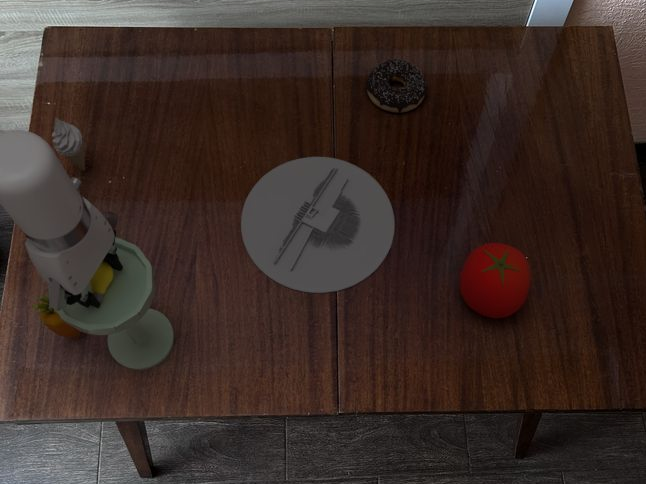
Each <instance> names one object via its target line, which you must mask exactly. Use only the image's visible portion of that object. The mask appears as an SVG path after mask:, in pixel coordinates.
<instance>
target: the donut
mask: <svg viewBox="0 0 646 484" xmlns="http://www.w3.org/2000/svg"><path fill="white" fill-rule="evenodd" d="M391 82H398V83H401V84H402V85H403V87H398V88H397V87H393V86H392V85H391V84H390V83H391ZM364 90H365V91H366V93H367V95H368V97H369V99H370V101H371V103H373V104H374V105H375V106H376V107H378V108H380V109H381V110H384V111H387V112H390V113H397V114H401V113H407V112H410V111H412V110H414V109H416V108H417V107H418V106H419V105H421V103H422V102H423V100H424V99H425V97H427V94H428V84H427V80H426V78H425V75H424V74H423V73H422V71H421V70H420V69H419V68H418V67H417V66H416V65H414V64H412V63H410V62H408V61H406V60H403V59H399V58H390V59H388V60H385V61H383V62H381V63H379V64H378V65H376V66H375V67H373V69H372V71H371V72H370V73H369V74H368V77H367V79H366V83H365V89H364Z"/></svg>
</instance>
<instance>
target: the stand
mask: <svg viewBox="0 0 646 484" xmlns="http://www.w3.org/2000/svg"><path fill="white" fill-rule="evenodd" d="M174 343H175V331H174V328H173V324H172V323H171V322H170V320H169V319H168V317H167V316H166V315H165V314H163V313H162V312H161V311H160V310H159V311H158V310H157V309H154V308H149V309H148V311H147V312H146V314H145V315H144V316H143V317H142V318H141V319H140V320H139V321H138V322H137V323H135V324H134V325H132V326H131V327H129V328H127V329H125V330H123V331H120V332H117V333H114V334H108V335H107V348H108V352H109V353H110V355H111V356H112V358H113V360H115V362H117V363H118V364H119V365H120V366H122V367H124V368H126V369H129V370H133V371H144V370H145V371H146V370H149V369H152V368H155V367H156V366H158V365H160V364H161V363H163V362H164V361H165V360H166V359H167V358H168V357H169V355H170V353H171V352H172V350H173V347H174V345H175V344H174Z"/></svg>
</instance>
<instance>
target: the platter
mask: <svg viewBox="0 0 646 484" xmlns="http://www.w3.org/2000/svg"><path fill="white" fill-rule="evenodd" d="M114 245H115V246H117V252H116V254H117V255H118V257H119V261H120V263H121V264H122V266H123V269H122V271H118V270H115V269H113V268H112V269H113V279H112V281H111V283H110V284H109V285H108V287H107V288H106V292H105V293H104V294H103V297H102V298H103V300H102V302H101V303H100V307H99V308H96V307H93V306H91V305H90V306H89V308H87V307H84V306H82V305H80V304H79V303H78V302H76V303H74V304H72V305H69V304H68V305H67V306H66V307H65V308H63V309H61V310H60V311H57V310H56V311H57V312H58V314H59V315H60V317H61V319H62V320H63V321H64V322H66V324H69V325H71V326H72V327H74V328H75V329H77V330H79V331H80V333H84V334H89V335H94V336H108V334H114V333H117V332H120V331H123V330H125V329H127V328H129V327H131V326H132V325H134V324H135V323H137V322H138V321H139V320H140V319H141V318H142V317H143V316H144V315H145V314H146V312H147V311H148V309H149V308H150V307H151V306H152V303H153V301H154V299H155V296H156V295H155V294H156V286H157V285H156V283H157V282H156V277H155V270H154V267H153V266H152V264H151V263H150V261H149V259H148V258H147V257H146V255H145V254H144V253H143V251H142V249H141V248H140V247H139V246H138V245H137V244H134V243H131V242H129V241H127V240H124V239H122V238H121V237H120V238H119V237H117V236H116V238H115V243H114ZM87 290H88V291H89V292H91V293H93V292H92V290H91V284H90V282H89V283H88V285H87ZM50 291H51V285H49V284H48V298H49V300H50Z"/></svg>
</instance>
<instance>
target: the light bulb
mask: <svg viewBox="0 0 646 484" xmlns="http://www.w3.org/2000/svg"><path fill="white" fill-rule="evenodd" d="M112 279H113V269H112V267H111V266H110V264H108V263H107V262H104V261H102V263H101V264H100V266H99V267H98V269H97V271H96V272H95V274H94V275H93V277H92V279H91V280H90V284H91V290H92V292H93V294H94V296H95V297H96V298H97V300H98V301H99V302H100V303H101V302H102V300H103V298H102V297H103V294H104V293H105V292H106V288H107V287H108V285H109V284H110V283H111V281H112Z"/></svg>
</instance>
